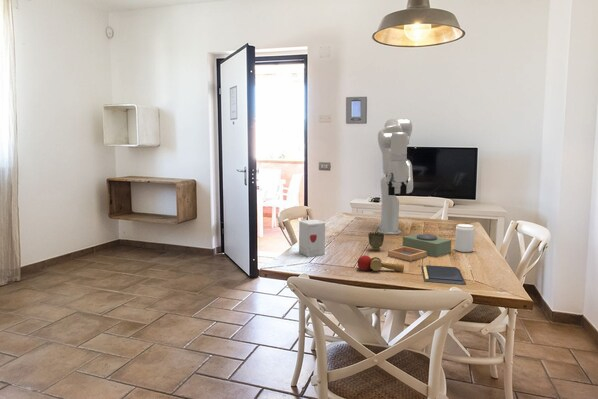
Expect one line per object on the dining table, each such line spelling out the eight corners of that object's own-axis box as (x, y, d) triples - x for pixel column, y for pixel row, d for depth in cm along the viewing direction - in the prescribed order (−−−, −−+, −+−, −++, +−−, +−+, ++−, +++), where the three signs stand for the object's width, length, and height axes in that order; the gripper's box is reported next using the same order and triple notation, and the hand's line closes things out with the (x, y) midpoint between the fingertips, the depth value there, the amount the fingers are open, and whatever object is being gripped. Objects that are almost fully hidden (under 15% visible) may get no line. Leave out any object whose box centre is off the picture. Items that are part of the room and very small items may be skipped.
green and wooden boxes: (382, 254, 188) (382, 239, 187) (417, 245, 205) (417, 231, 204) (416, 263, 174) (417, 247, 173) (450, 252, 192) (451, 237, 191)
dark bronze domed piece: (383, 252, 192) (384, 235, 190) (367, 251, 193) (368, 235, 192) (383, 248, 199) (384, 232, 198) (368, 247, 200) (368, 231, 199)
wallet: (466, 282, 148) (422, 278, 152) (466, 287, 148) (422, 283, 152) (460, 265, 167) (421, 263, 171) (460, 270, 168) (421, 267, 171)
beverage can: (472, 249, 198) (474, 224, 196) (473, 253, 190) (475, 227, 188) (454, 247, 200) (455, 223, 199) (454, 252, 193) (456, 226, 191)
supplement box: (307, 257, 184) (307, 224, 182) (298, 252, 192) (298, 220, 190) (325, 254, 188) (325, 222, 186) (315, 250, 196) (315, 219, 194)
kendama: (400, 271, 169) (356, 263, 171) (404, 257, 167) (359, 249, 169) (402, 280, 162) (356, 272, 164) (405, 266, 160) (358, 258, 162)
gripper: (402, 158, 205) (401, 193, 207) (380, 158, 194) (379, 195, 196) (415, 158, 200) (414, 194, 202) (394, 158, 188) (393, 196, 190)
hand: (397, 194), depth 199 cm, fingers open, 9 cm apart
